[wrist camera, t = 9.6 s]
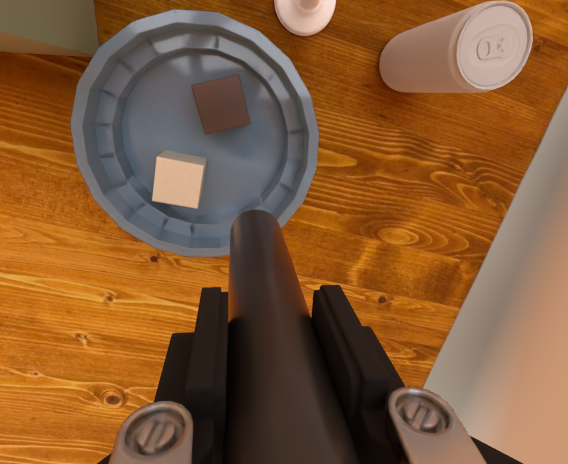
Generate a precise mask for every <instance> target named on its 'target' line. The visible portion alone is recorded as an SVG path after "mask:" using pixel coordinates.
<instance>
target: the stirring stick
mask: <svg viewBox="0 0 568 464" xmlns="http://www.w3.org/2000/svg"><path fill="white" fill-rule="evenodd" d="M222 464H361V462H360V459H359V457H358V454H357V451H356V448H355V445H354V442H353V439H352V436H351V433H350V430H349V427H348V424H347V421H346V418H345V416H344V413H343V410H342V407H341V404H340V401H339V398H338V395H337V392H336V389H335V386H334V383H333V380H332V377H331V375H330V372H329V369H328V366H327V363H326V360H325V357H324V354H323V351H322V348H321V345H320V342H319V339H318V336H317V334H316V331H315V328H314V325H313V322H312V319H311V316H310V313H309V310H308V307H307V304H306V301H305V298H304V295H303V293H302V290H301V287H300V284H299V281H298V278H297V275H296V272H295V269H294V266H293V263H292V260H291V257H290V254H289V252H288V249H287V246H286V243H285V240H284V237H283V234H282V231H281V228H280V225H279V223H278V221H277V220H276V218H275V217H274V216H273V215H272V214H270V213H268V212H266V211H264V210H258V209H255V210H249V211H246V212H244V213H242V214H240V215H239V216H238V217H237V218H236V219H235V221H234V222H233V224H232V227H231V232H230V258H229V285H228V354H227V387H226V420H225V435H224V439H223V449H222Z"/></svg>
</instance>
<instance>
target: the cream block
mask: <svg viewBox="0 0 568 464" xmlns="http://www.w3.org/2000/svg"><path fill="white" fill-rule="evenodd" d="M206 163H207V158H204V157H199V156H194V155H189V154H184V153H179V152H174V151H169V150H164V151H163V152H162V153H161V154H159V155H158V156H157V158H156V167H155V177H154V186H153V196H152V201H156V202H162V203H167V204H173V205H179V206H185V207H191V208H196V209H197V208H198V206H199V203H200V199H201V196H202V190H203V183H204V176H205V170H206Z"/></svg>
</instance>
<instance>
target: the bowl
mask: <svg viewBox="0 0 568 464" xmlns="http://www.w3.org/2000/svg"><path fill="white" fill-rule="evenodd" d="M237 74H238V75H239V76H240V81H241V85H242V89H243V93H244V97H245V101H246V105H247V110H248V114H249V118H250V122H251V124H249V125H245V126H241V127H237V128H232V129H228V130H224V131H220V132H216V133H211V134H207V135H205V133H204V129H203V126H202V122H201V119H200V116H199V112H198V109H197V105H196V102H195V98H194V95H193V92H192V88H191V85H194V84H198V83H203V82H207V81H211V80H216V79H220V78H224V77H229V76H233V75H237ZM70 123H71V124H70V126H71V132H72V139H73V145H74V152H75V158H76V164H77V166H78V168H79V170H80V172H81V174H82V176H83V178H84V180H85V182H86V184H87V186H88V188H89V190H90V192H91V194H92V196H93V198H94V199H95V201H96V202H97V203H98V204H99V205H100V207H101V208H102V209H103V210H104V211H105V212H106V213H107V214H108V215H109V216H110V217H111V218H112V219H113V220H114V222H115V223H116V224H117V225H118V226H119V227H120V228H122V229H123V230H125V231H126V232H128V233H130V234H131V235H133V236H135V237H136V238H138V239H140V240H141V241H143V242H145V243H146V244H148V245H150V246H151V247H153V248H156V249H160V250H164V251H167V252H171V253H174V254H178V255H182V256H185V257H187V256H188V257H215V256H225V255H228V254H230V232H231V227H232V224H233V222H234V221H235V219H236V218H237V217H238V216H239V215H240V214H242V213H244V212H246V211H249V210H255V209H258V210H264V211H266V212H268V213H270V214H272V215H273V216H274V217H275V218H276V220H277V221H278V223H279V225H280V228H283V226H284V225H285V224H286V223H287V221H288V220H289V219H290V218H291V217H292V215H293V214H294V213H295V212H296V210H297V209H298V208H299V207H300V206H301V204H302V203H303V202H304V199H305V197H306V194H307V192H308V189H309V187H310V184H311V182H312V179H313V177H314V174H315V172H316V168H317V156H318V143H319V129H318V125H317V120H316V116H315V112H314V107H313V103H312V98H311V95H310V93H309V91H308V89H307V87H306V86H305V84H304V82H303V81H302V79H301V77H300V75H299V74H298V72H297V70H296V68H295V67H294V65H293V63H292V62H291V60H290V59H289V58H288V57H287V56H286V55H285V54H284V53H283V52H282V51H281V50H280V49H279V48H277V47H276V46H275V45H274V44H273V43H272V42H271V41H270V40H269V39H268V38H266V37H265V36H264V35H263V34H262V33H261V32H260V31H258V30H257V29H254V28H252V27H250V26H248V25H245V24H243V23H241V22H239V21H236V20H234V19H232V18H230V17H227V16H225V15H223V14H221V13H218V12H208V11H195V10H182V9H175V10H174V9H172V10H169V11H165V12H162V13H158V14H155V15H152V16H148V17H145V18H141V19H138V20H134V21H133V22H131V23H130V24H128V25H127V26H126V27H124V28H123V29H122V30H120V31H119V32H118V33H117V34H115V35H114V36H113V37H111V38H110V39H109V40H107V41H106V42H105V43H104V44H102V45H101V46H100V47H99V48H98V49H97V51H96V53H95V54H94V56H93V58H92V59H91V61H90V63H89V64H88V66H87V68H86V69H85V71H84V73H83V74H82V76H81V78H80V79H79V81H78V83H77V88H76V94H75V99H74V105H73V110H72V116H71V121H70ZM164 150H169V151H174V152H179V153H184V154H189V155H194V156H199V157H204V158H207V163H206V170H205V176H204V183H203V190H202V196H201V199H200V203H199V206H198V208H197V209H196V208H191V207H185V206H179V205H173V204H167V203H162V202H156V201H152V196H153V186H154V177H155V167H156V158H157V156H158V155H159V154H161V153H162V152H163V151H164Z"/></svg>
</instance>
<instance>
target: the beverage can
mask: <svg viewBox="0 0 568 464" xmlns="http://www.w3.org/2000/svg"><path fill="white" fill-rule="evenodd" d="M532 40H533V37H532V26H531V23H530V20H529V17H528V16H527V14H526V13H525V11H524V10H523V9H522V8H521V7H519V6H518V5H517V4H515V3H512V2H509V1H487V2H483V3H481V4H478V5H475V6H473V7H470V8H467V9H464V10H462V11H459V12H456V13H454V14H451V15H448V16H446V17H443V18H440V19H438V20H435V21H432V22H429V23H427V24H424V25H421V26H418V27H416V28H413V29H410V30H407V31H405V32H402V33H400V34H398V35H396V36H395V37H394V38H393V39H391V40H390V41H389V42H388V44H387V45H386V46H385V48H384V49H383V51H382V53H381V57H380V61H379V70H380V74H381V77H382V79H383V81H384V82H385V83H386V84H387V85H388V86H389V87H390V88H392V89H393V90H395V91H399V92H423V93H478V92H487V91H489V90H494V89H496V88H499V87H502V86H504V85H505V84H507V83H508V82H510V81H511V80H513V79H514V78H515V77H516V75H517V74H518V73H519V72H520V71H521V70H522V68H523V66H524V65H525V63H526V62H527V59H528V56H529V54H530V51H531V46H532Z"/></svg>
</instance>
